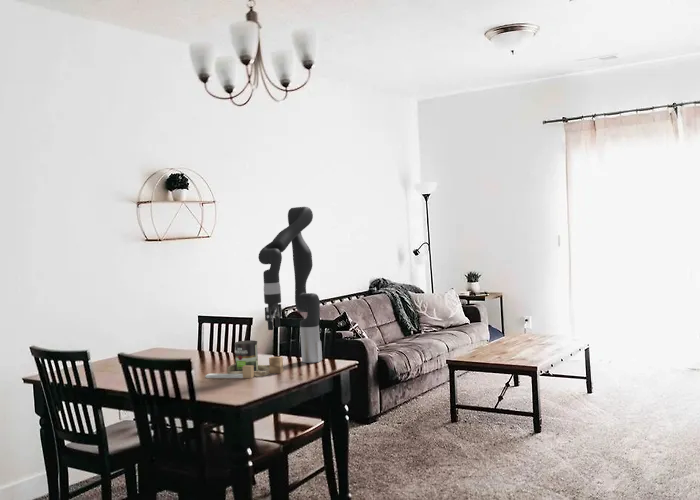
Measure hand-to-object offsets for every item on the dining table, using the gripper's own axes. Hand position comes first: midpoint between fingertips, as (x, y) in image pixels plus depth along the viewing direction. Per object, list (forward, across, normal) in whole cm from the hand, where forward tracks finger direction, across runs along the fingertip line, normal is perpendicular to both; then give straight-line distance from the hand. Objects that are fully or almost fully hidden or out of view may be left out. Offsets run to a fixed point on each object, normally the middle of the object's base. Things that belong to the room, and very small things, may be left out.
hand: (274, 328), depth 301 cm
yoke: (+20, 0, +9) cm, 22 cm away
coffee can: (+20, 0, +14) cm, 25 cm away
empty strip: (+20, -10, +19) cm, 29 cm away
